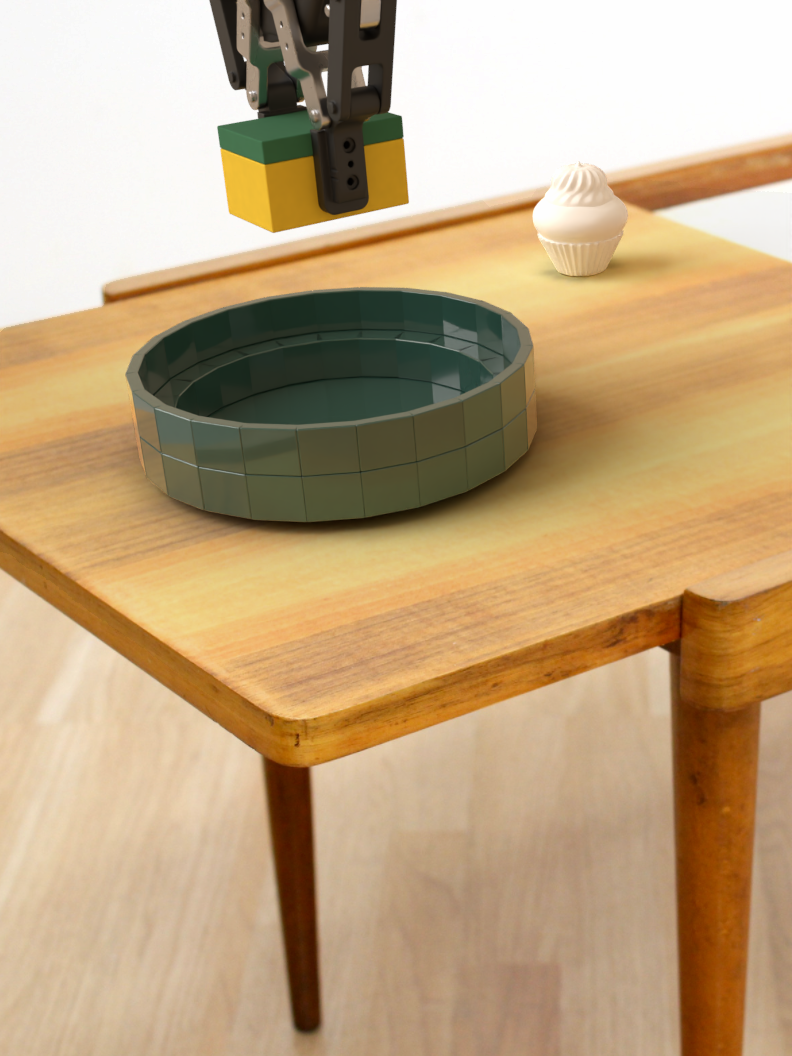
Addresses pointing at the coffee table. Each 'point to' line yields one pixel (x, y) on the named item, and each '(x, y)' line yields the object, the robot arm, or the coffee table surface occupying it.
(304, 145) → the sponge
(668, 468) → the coffee table surface
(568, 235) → the muffin
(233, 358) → the bowl
